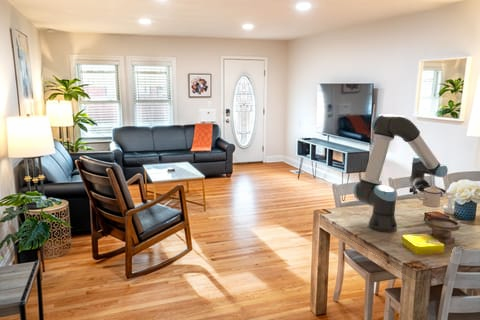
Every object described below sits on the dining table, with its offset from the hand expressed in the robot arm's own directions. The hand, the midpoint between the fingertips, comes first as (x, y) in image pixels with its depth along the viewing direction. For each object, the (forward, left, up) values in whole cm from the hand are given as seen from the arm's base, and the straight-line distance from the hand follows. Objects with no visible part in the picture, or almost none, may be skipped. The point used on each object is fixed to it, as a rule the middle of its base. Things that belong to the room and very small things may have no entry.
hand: (431, 195), depth 208 cm
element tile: (-12, -26, -21) cm, 35 cm away
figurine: (+23, +31, -20) cm, 44 cm away
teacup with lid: (0, +4, -7) cm, 8 cm away
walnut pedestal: (+2, -13, -20) cm, 24 cm away
